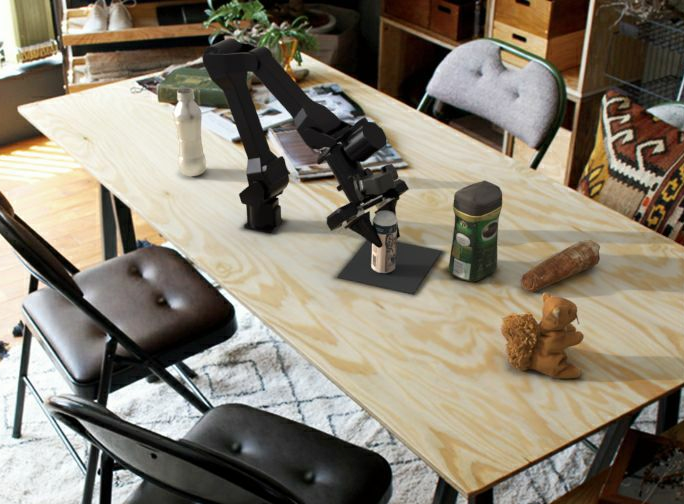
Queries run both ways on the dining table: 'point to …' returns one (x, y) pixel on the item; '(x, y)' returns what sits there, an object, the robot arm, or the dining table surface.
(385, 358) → the dining table surface
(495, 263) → the coffee jar
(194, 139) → the plastic bottle
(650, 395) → the dining table surface
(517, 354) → the stuffed squirrel
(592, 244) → the cassava root
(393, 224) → the beer can
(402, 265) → the mat
